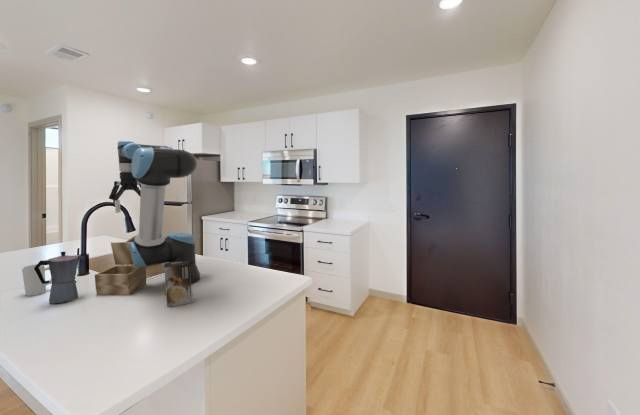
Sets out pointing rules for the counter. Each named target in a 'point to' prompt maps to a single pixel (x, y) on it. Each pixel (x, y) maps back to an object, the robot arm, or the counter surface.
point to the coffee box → (178, 283)
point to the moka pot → (61, 277)
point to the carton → (120, 280)
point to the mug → (34, 280)
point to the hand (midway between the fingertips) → (131, 212)
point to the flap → (122, 252)
